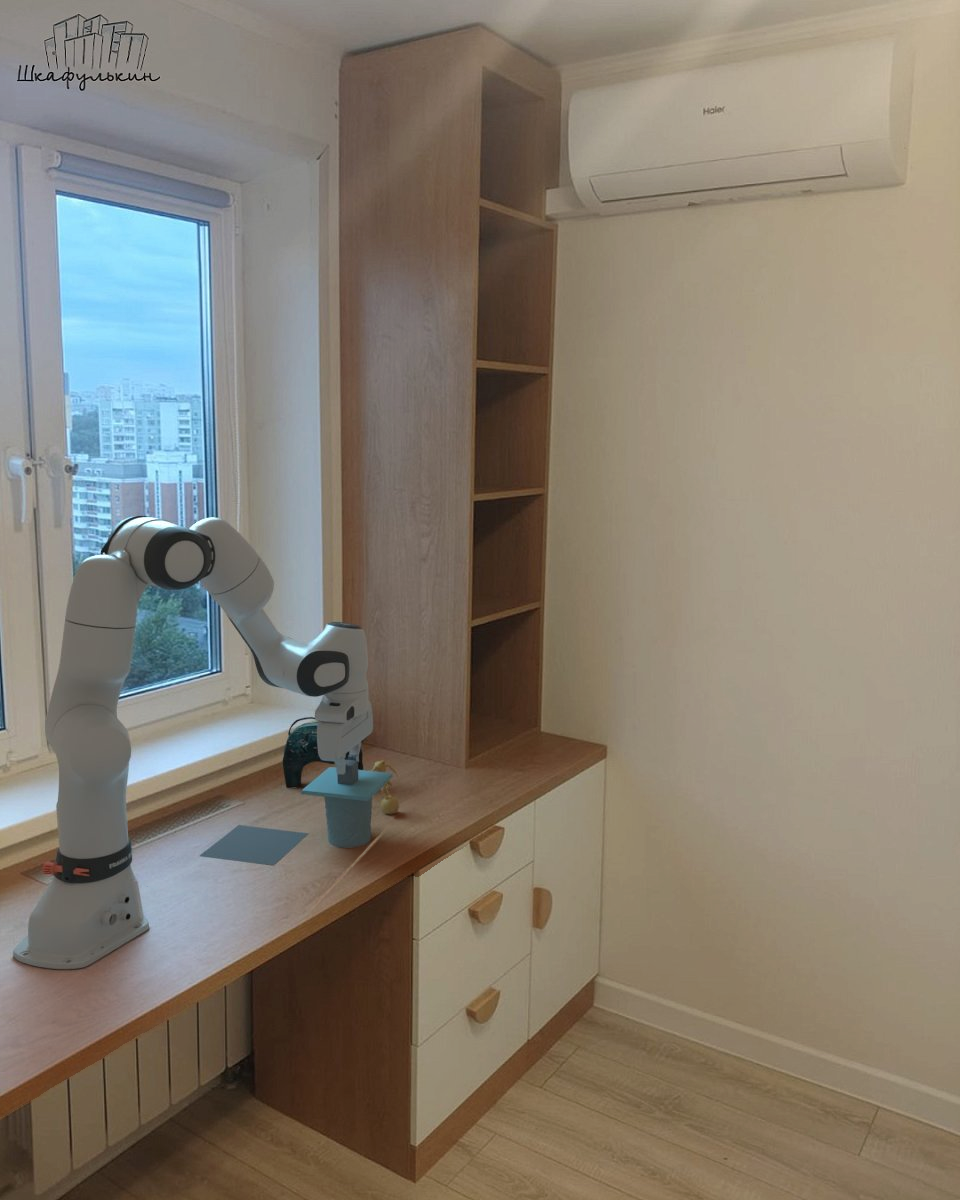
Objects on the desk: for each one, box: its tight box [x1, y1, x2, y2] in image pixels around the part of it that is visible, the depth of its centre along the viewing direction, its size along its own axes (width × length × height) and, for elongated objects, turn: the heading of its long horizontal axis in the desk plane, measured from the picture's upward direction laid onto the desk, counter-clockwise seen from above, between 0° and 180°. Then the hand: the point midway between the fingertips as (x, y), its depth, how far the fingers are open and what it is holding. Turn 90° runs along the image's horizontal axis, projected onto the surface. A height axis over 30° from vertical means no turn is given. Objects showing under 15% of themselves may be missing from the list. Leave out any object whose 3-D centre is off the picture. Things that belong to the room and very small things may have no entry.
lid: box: [301, 760, 394, 801], centre depth 216 cm, size 14×14×5 cm
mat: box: [199, 824, 309, 867], centre depth 215 cm, size 16×16×1 cm
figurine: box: [370, 759, 400, 816], centre depth 232 cm, size 8×6×12 cm
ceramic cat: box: [282, 716, 367, 788], centre depth 247 cm, size 20×6×20 cm, turn 84°
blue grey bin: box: [323, 796, 373, 849], centre depth 217 cm, size 10×10×12 cm
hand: (347, 768), depth 216 cm, fingers open, 5 cm apart
